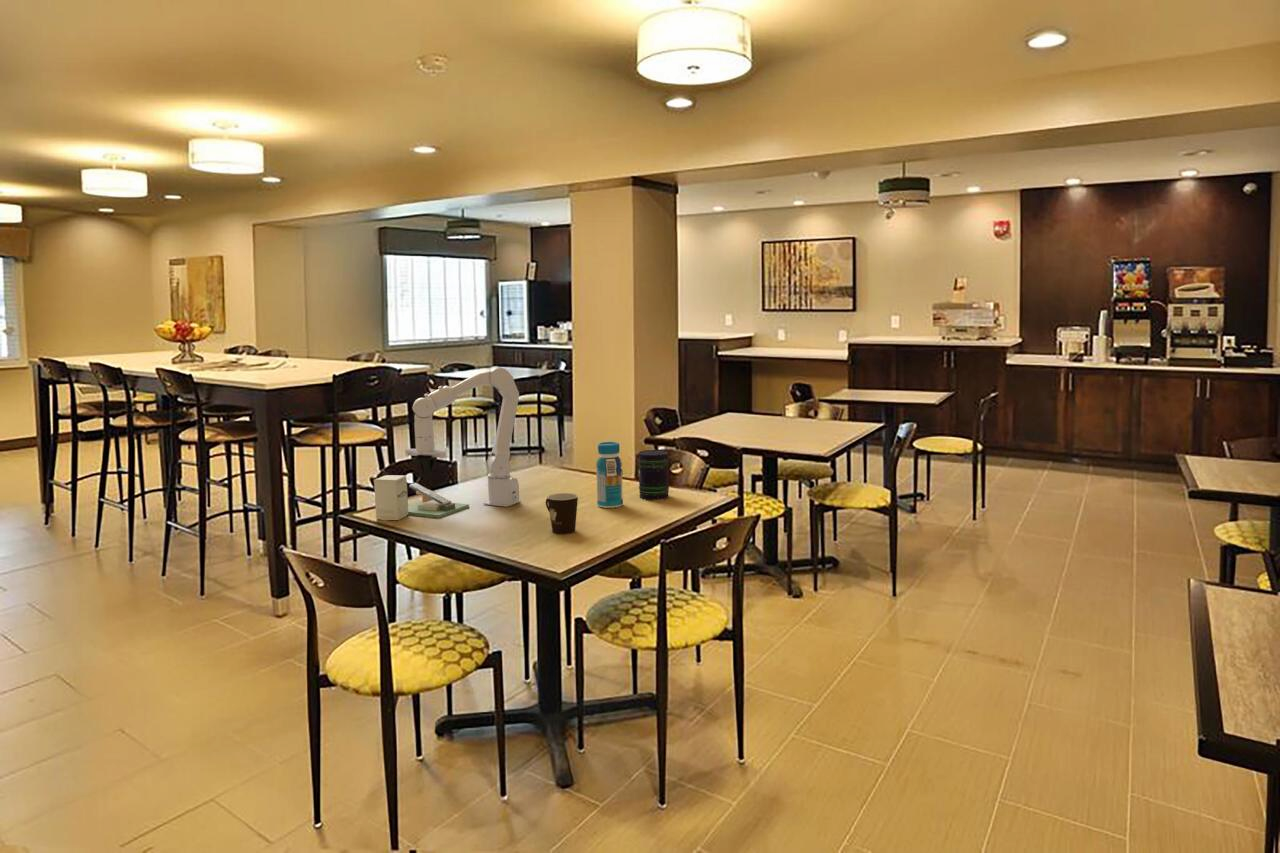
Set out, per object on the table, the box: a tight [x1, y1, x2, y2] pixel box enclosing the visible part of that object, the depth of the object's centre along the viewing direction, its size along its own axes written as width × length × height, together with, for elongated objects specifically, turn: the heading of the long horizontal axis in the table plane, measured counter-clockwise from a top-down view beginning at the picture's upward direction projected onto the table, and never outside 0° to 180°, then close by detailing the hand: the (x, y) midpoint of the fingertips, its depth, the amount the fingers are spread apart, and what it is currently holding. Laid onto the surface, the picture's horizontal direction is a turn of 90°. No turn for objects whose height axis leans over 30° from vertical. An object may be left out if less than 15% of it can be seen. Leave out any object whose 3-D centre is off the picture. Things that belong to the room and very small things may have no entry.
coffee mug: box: [545, 492, 579, 535], centre depth 241 cm, size 12×9×10 cm
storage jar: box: [638, 449, 670, 501], centre depth 280 cm, size 10×10×15 cm
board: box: [408, 500, 470, 519], centre depth 268 cm, size 18×15×2 cm
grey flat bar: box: [408, 482, 452, 505], centre depth 268 cm, size 14×4×1 cm, turn 66°
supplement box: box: [373, 474, 409, 521], centre depth 259 cm, size 7×7×13 cm
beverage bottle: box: [595, 441, 624, 509], centre depth 268 cm, size 8×8×20 cm
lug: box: [415, 489, 433, 502], centre depth 274 cm, size 3×5×4 cm, turn 154°
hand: (427, 479), depth 267 cm, fingers closed
